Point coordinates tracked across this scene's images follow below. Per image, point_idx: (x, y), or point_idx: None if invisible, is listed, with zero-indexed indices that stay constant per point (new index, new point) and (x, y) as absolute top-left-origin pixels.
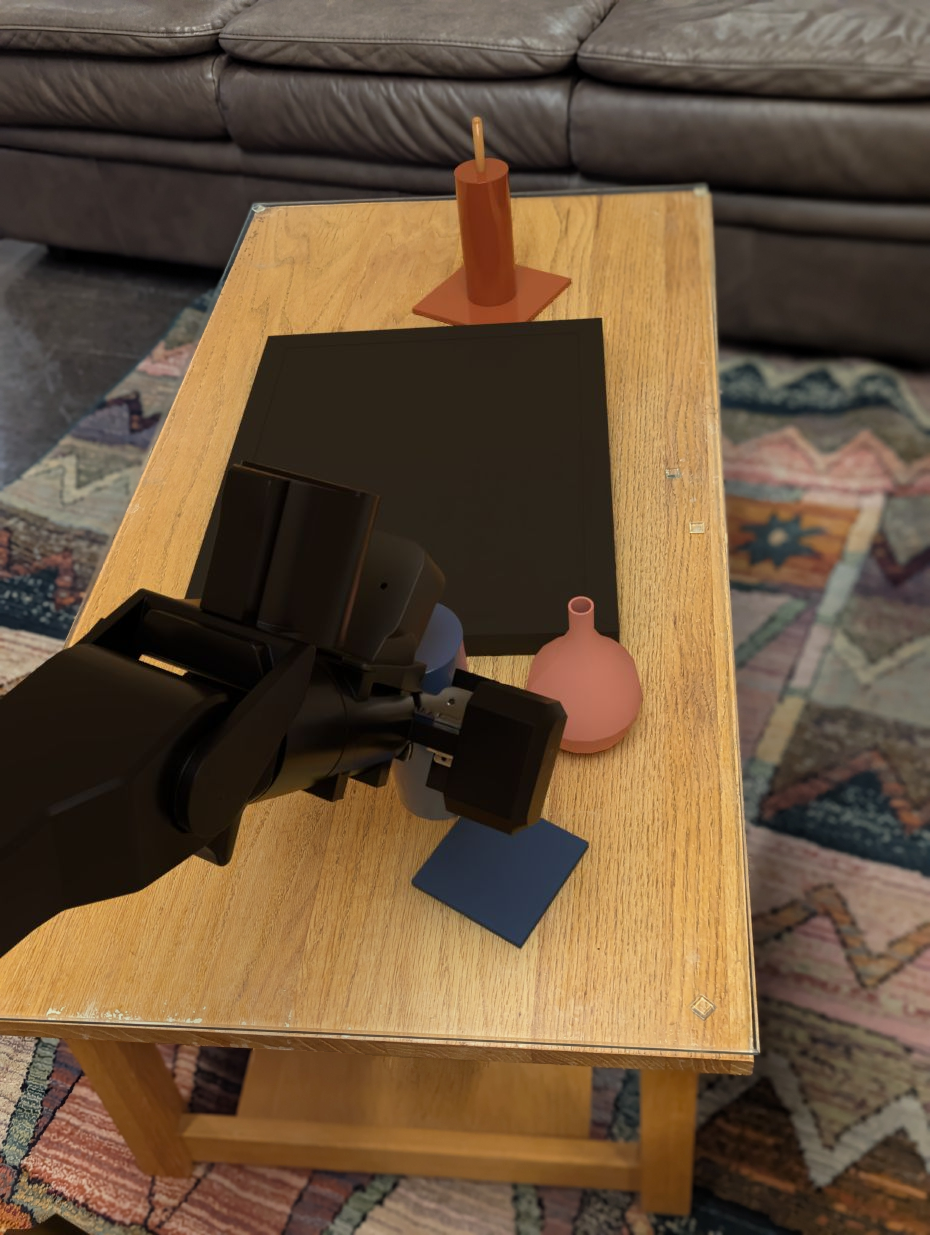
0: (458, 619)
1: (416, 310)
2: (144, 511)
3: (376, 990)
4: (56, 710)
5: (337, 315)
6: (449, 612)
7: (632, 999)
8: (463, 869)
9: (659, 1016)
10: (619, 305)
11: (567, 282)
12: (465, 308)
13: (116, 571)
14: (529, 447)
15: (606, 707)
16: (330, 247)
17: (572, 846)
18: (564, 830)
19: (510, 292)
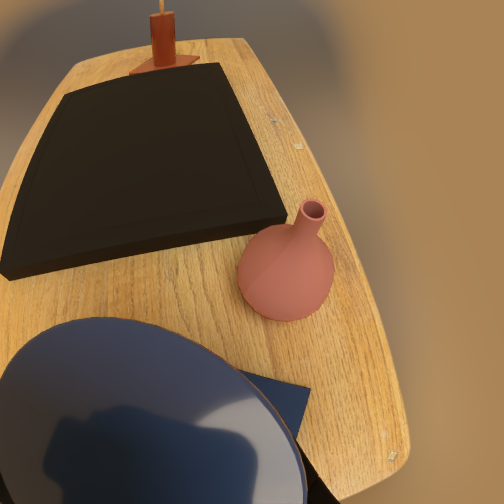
0: (261, 396)
1: (131, 73)
2: (3, 188)
3: None
4: None
5: (96, 82)
6: (214, 368)
7: (357, 471)
8: None
9: (372, 472)
10: (223, 62)
11: (198, 57)
12: (153, 68)
13: None
14: (194, 109)
15: (322, 294)
16: (97, 65)
17: (300, 396)
18: (291, 384)
19: (173, 60)
